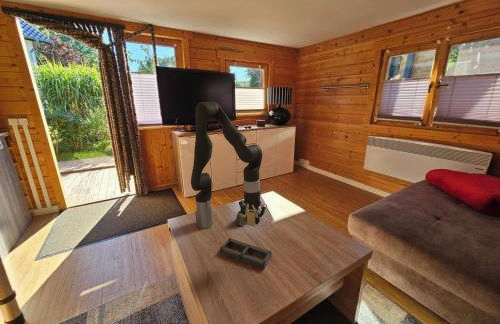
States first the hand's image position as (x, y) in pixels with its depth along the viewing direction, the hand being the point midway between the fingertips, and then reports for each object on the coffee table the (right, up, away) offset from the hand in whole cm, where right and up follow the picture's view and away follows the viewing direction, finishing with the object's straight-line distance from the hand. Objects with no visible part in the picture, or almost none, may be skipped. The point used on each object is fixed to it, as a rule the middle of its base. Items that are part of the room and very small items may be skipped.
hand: (252, 222), depth 100 cm
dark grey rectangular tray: (-4, -18, +5) cm, 19 cm away
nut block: (0, -1, 0) cm, 1 cm away
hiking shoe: (-2, -9, +37) cm, 38 cm away
